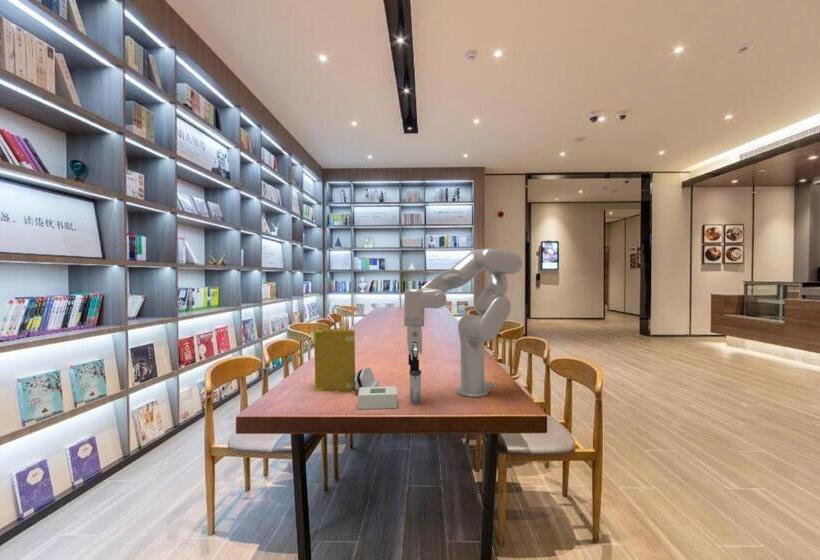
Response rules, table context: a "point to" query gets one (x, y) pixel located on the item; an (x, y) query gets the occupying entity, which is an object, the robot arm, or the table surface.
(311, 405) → the table surface
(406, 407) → the table surface
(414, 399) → the pin
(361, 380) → the hinge
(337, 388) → the book
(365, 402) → the socket block
